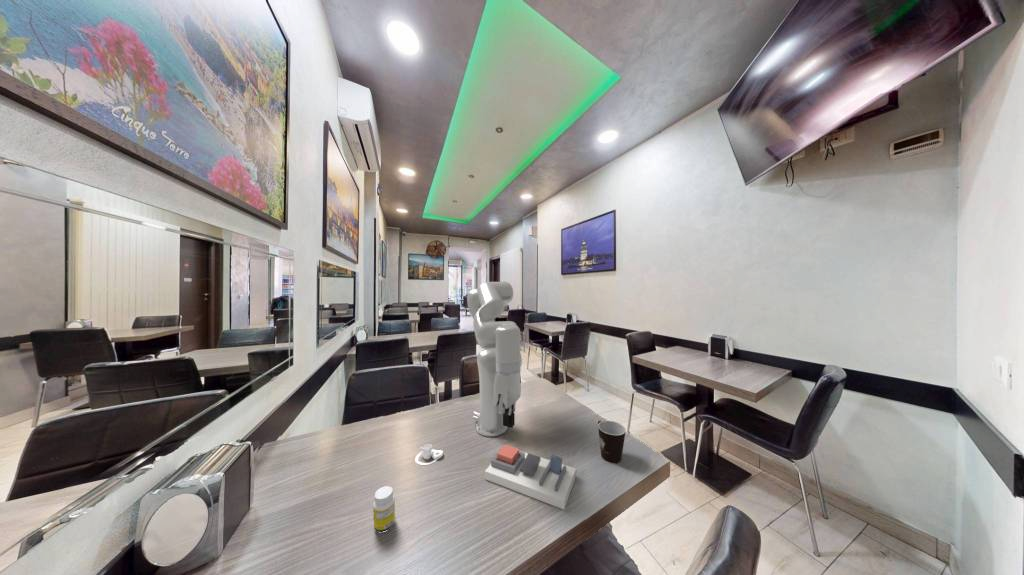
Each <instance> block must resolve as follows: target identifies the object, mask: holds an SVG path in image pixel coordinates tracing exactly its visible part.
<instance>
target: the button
mask: <svg viewBox="0 0 1024 575" xmlns="http://www.w3.org/2000/svg"><path fill="white" fill-rule="evenodd" d="M502 447H503V448H502ZM502 447H501V448H502V449H501V448H500V449H501V450H500V449H499V450H498V452H497V453H498V454H497V453H496V454H497V460H498V461H501V462H504V463H507V464H510V465H513V463H514V462H515V461H516V459H517V458H518V456H519V451H520V449H519V448H517V447H513V446H510V445H507V444H504V445H502Z"/></svg>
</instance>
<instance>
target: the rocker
mask: <svg viewBox="0 0 1024 575" xmlns="http://www.w3.org/2000/svg"><path fill="white" fill-rule="evenodd" d="M527 453H528V455H527V457H526V459H525V461H524V463H523V465H522V466H521V468H520V470H521V472H522V473H525V474H528V475H531V476H534V474H535V472H536V470H537V467H538V465H539V463H540V461H541V458H542V457H541V456H538V455H536V454H532V453H529V452H527ZM540 457H541V458H540Z"/></svg>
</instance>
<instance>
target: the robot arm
mask: <svg viewBox="0 0 1024 575" xmlns="http://www.w3.org/2000/svg"><path fill="white" fill-rule="evenodd" d="M513 298H514V288H513V285H511V283H510V282H508V281H485V282H481V283H480V284H479V285H478V287H477V288H474V289H473V288H472V289H471V290H470V291H468V292H467V296H466V301H467V308H468V310H469V313H470V315H471V317H472V319H473V321H472V322H473V331H474V335H475V339H476V342H477V343H478V346H479V347H480V348H481V349H482V350H480V351H479V352H478V354H477V355H476V364H477V370H478V377H479V378H478V379H479V412H478V411H475V410H474V411H473V412H472V420H475V421H477V422H476V424H475V430H476V432H477V433H478V434H479V435H481V436H485V437H497V436H501V435H502V434H503V435H504V433H506V432H507V430H508V428H511V429H512V428H514V426H515V419H516V418H515V412H516V405H517V404H516V403H517V401H518V400H519V399H520V398H521V394H522V390H521V389H522V385H521V368H522V364H523V360H522V359H523V358H522V353H521V329H520V327H519V326H518V325H517V323H516V322H514V321H512V320H511V321H510V320H507V321H506V320H505V321H504V320H502V321H501V320H499V321H496V320H495V319H496V318H498V317H500V316H501V315H502V314H503V312H504V311H505V306H506V305H508V304H509V303H511V301H512V300H513Z"/></svg>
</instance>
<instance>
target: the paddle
mask: <svg viewBox="0 0 1024 575" xmlns="http://www.w3.org/2000/svg"><path fill="white" fill-rule="evenodd" d="M549 460H550V471H551V472H554V473H557V474H560V473H561V471H562V464H563V463H562V462H563V457H562V456H559V455H557V454H552V455H551V456H550V458H549Z"/></svg>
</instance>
